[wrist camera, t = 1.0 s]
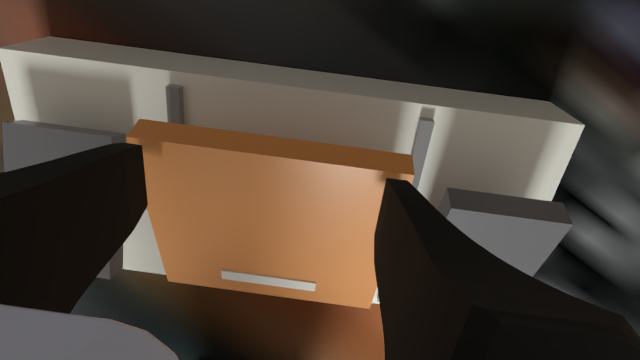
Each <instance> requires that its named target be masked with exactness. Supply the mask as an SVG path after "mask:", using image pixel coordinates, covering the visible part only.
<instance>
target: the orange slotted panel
mask: <svg viewBox="0 0 640 360" xmlns="http://www.w3.org/2000/svg"><path fill="white" fill-rule="evenodd" d="M126 139H127V142H128V143H130V144H137V145H142V150H143V160H144V170H145V180H146V190H147V200H148V206H147V211H148V214H149V218H150V221H151V224H152V228H153V231H154V235H155V238H156V242H157V245H158V248H159V252H160V255H161V259H162V262H163V266H164V269H165V272H166V276H167V279H168V281H169V282H177V283H184V284H191V285H198V286H206V287H213V288H220V289H228V290H235V291H242V292H249V293H257V294H264V295H271V296H279V297H286V298H293V299H301V300H308V301H315V302H322V303H330V304H337V305H344V306H352V307H359V308H366V309H370V306H371V303H372V300H373V297H374V294H375V291H376V288H377V281H376V274H375V266H374V234H375V229H376V224H377V220H378V215H379V210H380V206H381V201H382V196H383V192H384V187H385V183H386V178H392V179H399V180H407V181H409V182H410V183H411V184H412V182H413V179H414V176H415V174H414V165H413V156H412V155H410V154H402V153H395V152H387V151H380V150H372V149H364V148H357V147H349V146H342V145H334V144H327V143H319V142H312V141H304V140H297V139H289V138H282V137H274V136H267V135H259V134H252V133H244V132H236V131H229V130H221V129H214V128H206V127H199V126H191V125H184V124H176V123H169V122H161V121H154V120H146V119H139V120H138V121H137V123H136V124H135V125H134V127H133V128H132V129H131V131H130V132H129V133H128V135H127V136H126Z"/></svg>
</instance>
